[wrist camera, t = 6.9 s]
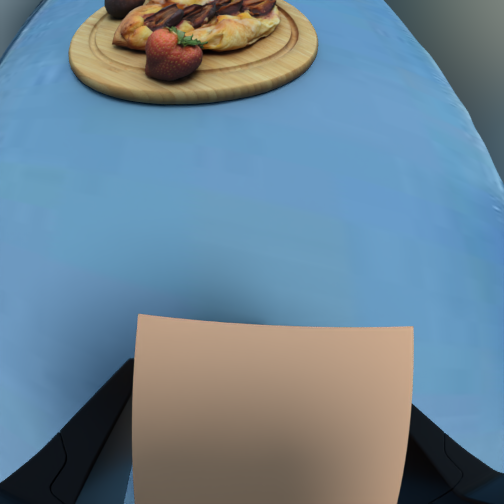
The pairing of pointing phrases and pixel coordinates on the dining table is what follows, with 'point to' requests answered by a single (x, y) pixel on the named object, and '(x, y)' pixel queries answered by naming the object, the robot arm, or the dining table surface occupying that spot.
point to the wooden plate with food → (192, 49)
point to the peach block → (269, 413)
